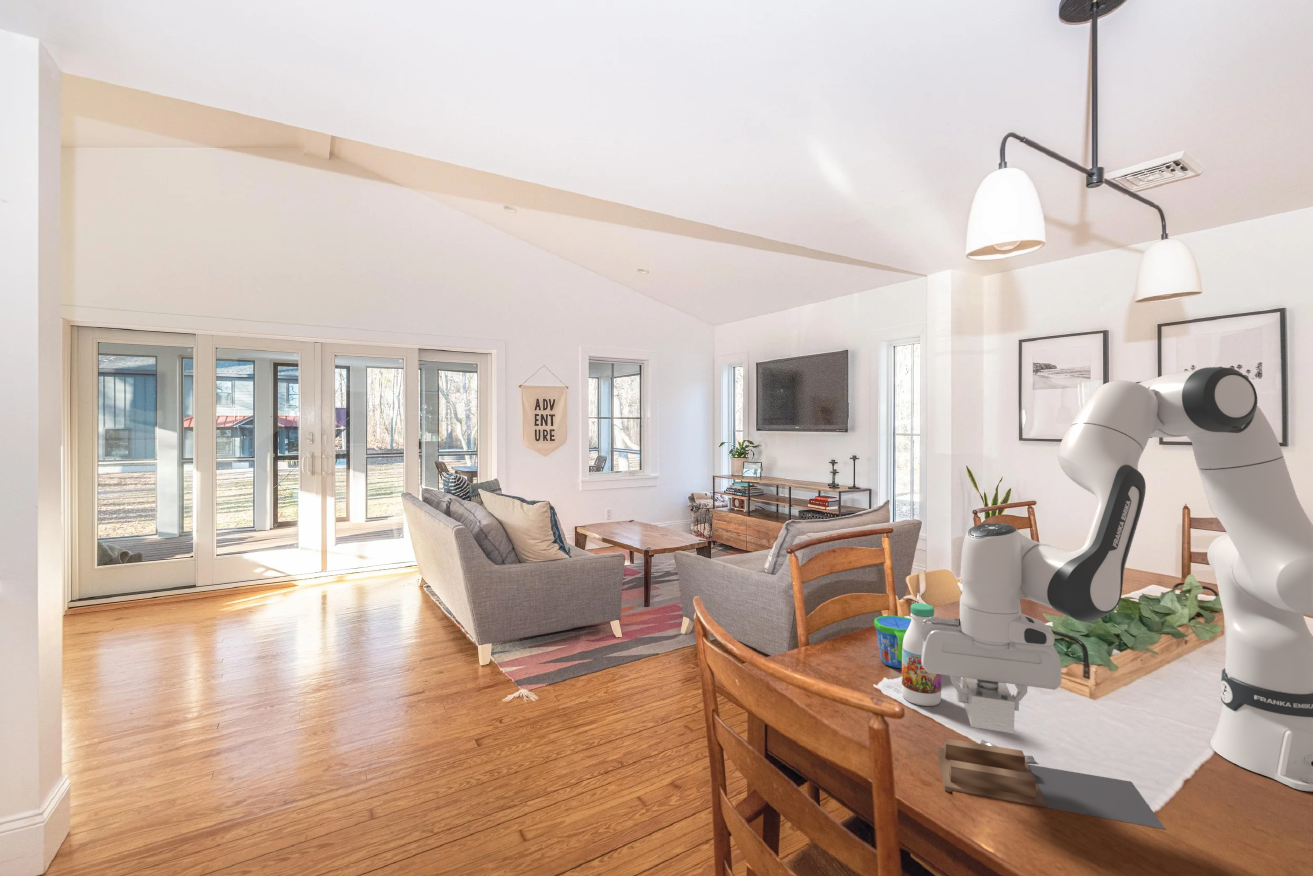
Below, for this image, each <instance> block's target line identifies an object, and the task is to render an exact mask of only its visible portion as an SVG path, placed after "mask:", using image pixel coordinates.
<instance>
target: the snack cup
mask: <svg viewBox="0 0 1313 876" xmlns="http://www.w3.org/2000/svg"><path fill="white" fill-rule="evenodd" d="M911 619H912V618H910V617H907V616H900V615H880V616H878V617H876V618H875V619H874V620H873V621H874V622H873V623H874V624H873V625H874V628H875V630H876V636H877V637H876V639H877V645H878V651H879V656H880V660H881V662H882V663H883V664H884V665H886V666H889V667H891V668H892V667H893V668H896V669H897V668H898V669H902V647H903V639H904V636H905V633H906V631H907V629H908V627H909V625H910V623H911Z"/></svg>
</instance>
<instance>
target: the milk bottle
mask: <svg viewBox="0 0 1313 876" xmlns="http://www.w3.org/2000/svg"><path fill="white" fill-rule="evenodd" d="M910 616H911V618H910V619H911V623H910V625H909V627H908V629H907V631H906V633H905V636H904V639H903V647H902V668H901V695H902V697H903V698H904V699H905V700H906V701H907V702H909V703H911V704H913V705H917V706H922V707H923V706H924V707H933V706H938V705H940V704H941V700H942V674H935V673H928V672H927V671H926V670H925V669H924V668H923V666H922V662H921V655H922V646H923V640H922V638H921V636H920V626H921V623H922V622H923V621H924V620H926V619H930V617H935V608H934V606H933V605H930V604H926V603H919V602H918V603H915V602H914V603H913V604H910ZM928 622H930V621H928Z"/></svg>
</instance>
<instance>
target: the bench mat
mask: <svg viewBox="0 0 1313 876" xmlns="http://www.w3.org/2000/svg"><path fill="white" fill-rule="evenodd" d="M1027 764H1028V767H1029V769H1030V771H1031V773H1032V774H1033V775H1034V778H1035V780H1036V784H1037V786H1038V789H1039V791H1040V793H1041V795H1042V797H1043V799H1044V802H1045V804H1046V807H1045V808H1047V809H1052V810H1058V811H1063V812H1068V813H1069V812H1070V813H1073V814H1074V813H1075V814H1078V815H1079V814H1080V815H1084V816H1091V817H1096V818H1101V819H1107V820H1111V821H1116V822H1123V823H1127V824H1128V823H1129V824H1133V825H1138V826H1143V827H1144V826H1145V827H1150V828H1155V829H1160V830H1166V827H1165V826H1164V824H1163V823H1162V822H1161V821H1160V819H1159V818H1158V817H1157V815H1156V813H1154V811H1153V809H1151V807H1150V806H1149V804H1148V803H1147V801H1146V799H1145V798H1144V797H1143V795H1142V794H1141V793H1140V792H1139V790H1138V789H1137V787H1136V786H1135V784H1134V783H1133V782H1132V781H1130V780H1124V779H1118V778H1111V777H1105V776H1101V775H1093V774H1089V773H1088V774H1087V773H1082V772H1075V771H1071V770H1070V771H1069V770H1064V769H1057V768H1051V767H1048V766H1047V767H1045V766H1039V765H1034V764H1030V763H1027ZM1041 807H1042V806H1040V808H1041ZM1042 808H1043V807H1042Z"/></svg>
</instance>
